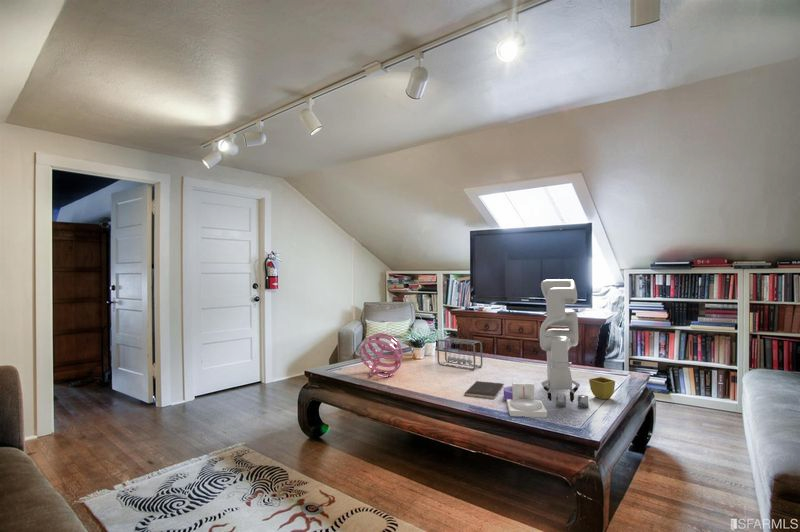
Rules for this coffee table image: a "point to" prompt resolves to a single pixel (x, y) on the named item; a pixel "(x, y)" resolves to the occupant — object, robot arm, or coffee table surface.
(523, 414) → the scale
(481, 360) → the newton's cradle
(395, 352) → the pink openwork sphere sculpture
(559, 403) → the cylinder
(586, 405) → the cylinder
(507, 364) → the coffee table surface
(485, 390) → the hardcover book
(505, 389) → the tape roll
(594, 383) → the flower pot
